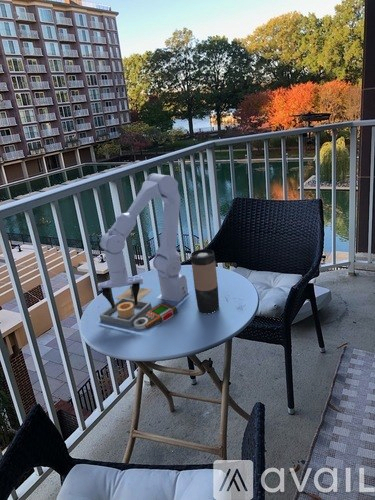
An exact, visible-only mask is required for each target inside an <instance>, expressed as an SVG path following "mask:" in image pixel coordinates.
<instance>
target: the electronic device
mask: <svg viewBox="0 0 375 500" xmlns="http://www.w3.org/2000/svg"><path fill="white" fill-rule="evenodd" d="M177 314H178V308H177V306H175V305H173V304H171V303H169V302H166V300H165V301H162V302H161V303H159V304H157V305H156V306H154V307H152V308H151V309H150V310H149V311H147V312H145V313H144V314H142V315H140V316H139V317H137V318H135V319H136V320H135V321H134V324H133V327H134V329H136V330H143V329H151V328H153V327H154V326H159V325H161V324H162V323H164V322H166V321H168V320H171V318H173V316H175V315H177Z"/></svg>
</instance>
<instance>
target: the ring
mask: <svg viewBox="0 0 375 500" xmlns="http://www.w3.org/2000/svg"><path fill="white" fill-rule="evenodd" d="M116 311H117V316H118V318H121V319H130V318H132V317H133V316H134V315H135V314H136V311H135V306H134V305H133V303H131V302H124V303H121V304H119V305H118V306H117V309H116Z"/></svg>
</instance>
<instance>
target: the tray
mask: <svg viewBox="0 0 375 500" xmlns="http://www.w3.org/2000/svg"><path fill="white" fill-rule="evenodd" d="M124 302H131V303H133V305H134V307H141V308H140V310H139V311H137V312H135V314H134V315H133V316H131V317H130V318H129V319H126V318H120V317H114V316H111V315H112V314H113V313H114V312H115V311H117V306H118V305H119V304H121V303H124ZM137 302H138V303H137V305H135V301H134V300H133V299H128V298H121V299H118V301H116V302H115V308H114V309H112V306H111V305H110V307H108V308H107V309H106V310H105V311H103V312H102V313H101V314H100V315H99V318H100V321H103V322H107V323H111V324H116V325H121V326H123V327H129V328H131V327H132V326H134V321H135V320H136V319H135V318H137V317H139V316H140V315H142V314H144V313H145V312H147V311H149V310H151V309H152V308H153V307H152V302H149V301H143V300H140V301H139V300H137Z"/></svg>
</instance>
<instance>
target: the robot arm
mask: <svg viewBox="0 0 375 500" xmlns="http://www.w3.org/2000/svg"><path fill="white" fill-rule="evenodd" d="M178 187H179V182H178V181H177V180H176V179H175V178H174V177H173V175H171V174H167V175H166V174H161V173H155V172H152V173H151V174H149V175H148V176H147V178H146V179H145V181H143V182H142V186H141V189H140V190H139V192H138V193H137V195H136V197H135V198H134V199H133V201H132V203H131V205H130V207H128V209H127V211H126V212H122V213H120V215H117V216H116V218H115V219H116V220H115V222H114V223H113V224H112V226H111V227H110V228H108V230H107V232H106V233H104V234H103V235H102V236H101V238H100V242H99V247H101V248H102V249H103V251H104V254H105V261H106V264H107V265H106V266H107V269H108V270H107V271H108V273H109V274H108V275H109V280H106V281H103V282H98V283H97V288H98V292H100V291H101V292H102V293H101V294H102V296H103V297H104V298H105V299H106V300H107V301H108V303H109V304H110V307H111V306H112V309H114V308H115V303H116V302H115V300H114V296H113V289H114V288H121V287H126V286H130V285H132V291H133V295H134V301H135V305H137V303H138V302H137V296H138V292H139V288H141V285H143V283H144V280H143V276H129V275H128V270H127V266H126V261H125V260H126V259H125V255H124V251H123V250H124V249H125V246H126V243H125V242H126V241H127V238H128V236H129V235H130V233H132V231H133V229H134V228H135V226H136V225H137V218H138V216H140V214H141V213H142V211H143V210H144V209H145V207H146V206H147V205H148V204H149V203H150V201H151V200H154V199H159V198H160V200H162V202H163V212H162V213H163V214H162V222H161V223H162V225H161V237H160V246H159V248H157V249H156V251H155V255H154V257H153V260H152V265H153V267H154V269H156V270H157V271H156V272H157V278H158V283H159V287H160V294H159V295H158V296H156V299H160V300H161V299H162V300H165V301H171V302H180V301H182V299H183V298H185V297H186V295H188V293H190V291H189V289H188V283H187V282H188V281H187V278H186V277H187V276H186V275H184V274H181V269H182V264H181V260H180V257H181V256H180V253H179V251H177V240H178V239H177V238H178V228H179V219H180V218H179V217H180V207H181V194H180V192H179V188H178Z"/></svg>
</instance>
